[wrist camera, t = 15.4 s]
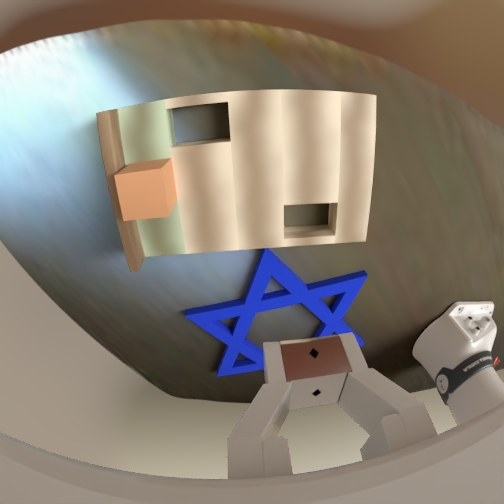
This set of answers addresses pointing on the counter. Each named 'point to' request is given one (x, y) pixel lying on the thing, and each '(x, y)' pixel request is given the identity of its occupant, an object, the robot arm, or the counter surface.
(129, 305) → the counter surface
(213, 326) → the symbol
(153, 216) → the block
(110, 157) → the board
